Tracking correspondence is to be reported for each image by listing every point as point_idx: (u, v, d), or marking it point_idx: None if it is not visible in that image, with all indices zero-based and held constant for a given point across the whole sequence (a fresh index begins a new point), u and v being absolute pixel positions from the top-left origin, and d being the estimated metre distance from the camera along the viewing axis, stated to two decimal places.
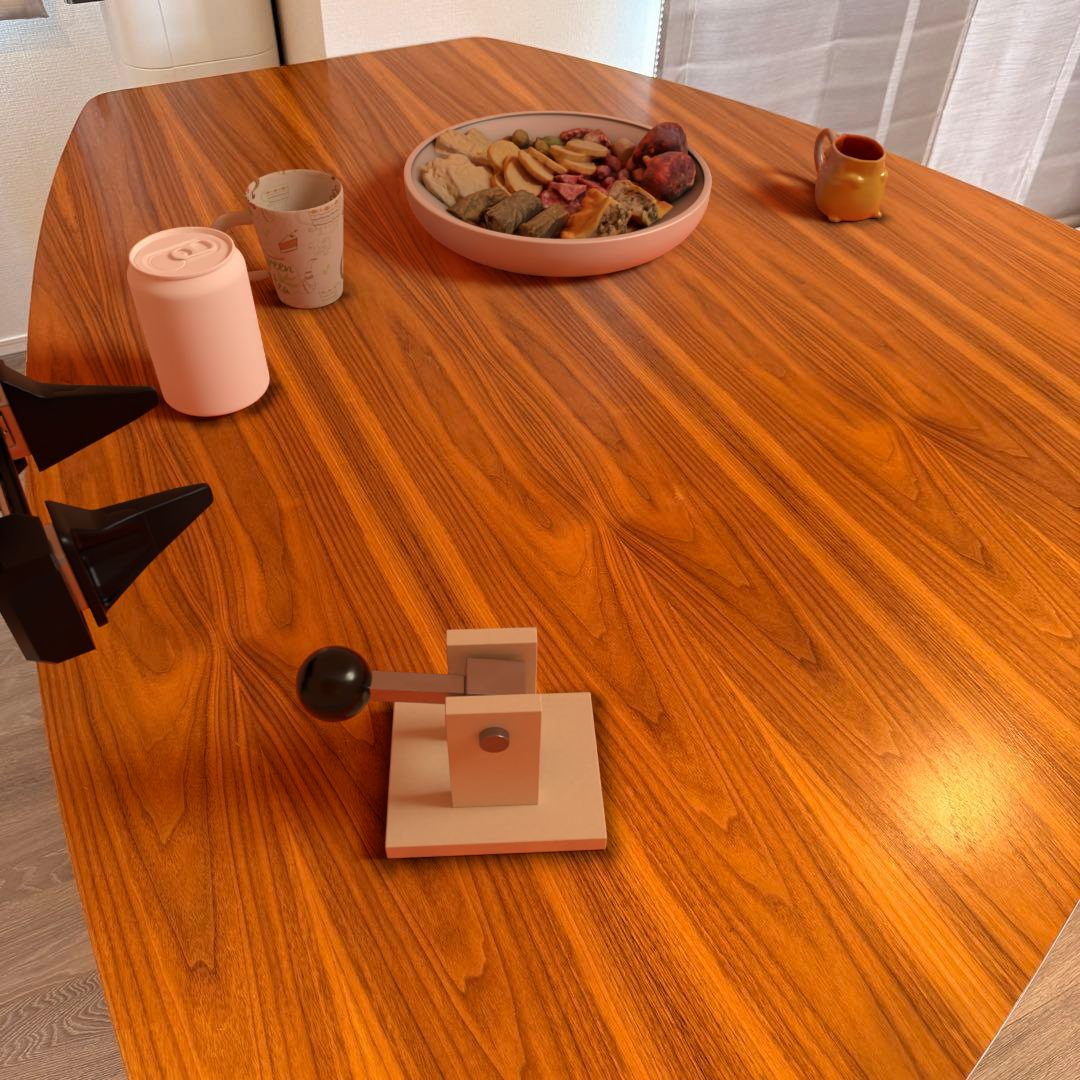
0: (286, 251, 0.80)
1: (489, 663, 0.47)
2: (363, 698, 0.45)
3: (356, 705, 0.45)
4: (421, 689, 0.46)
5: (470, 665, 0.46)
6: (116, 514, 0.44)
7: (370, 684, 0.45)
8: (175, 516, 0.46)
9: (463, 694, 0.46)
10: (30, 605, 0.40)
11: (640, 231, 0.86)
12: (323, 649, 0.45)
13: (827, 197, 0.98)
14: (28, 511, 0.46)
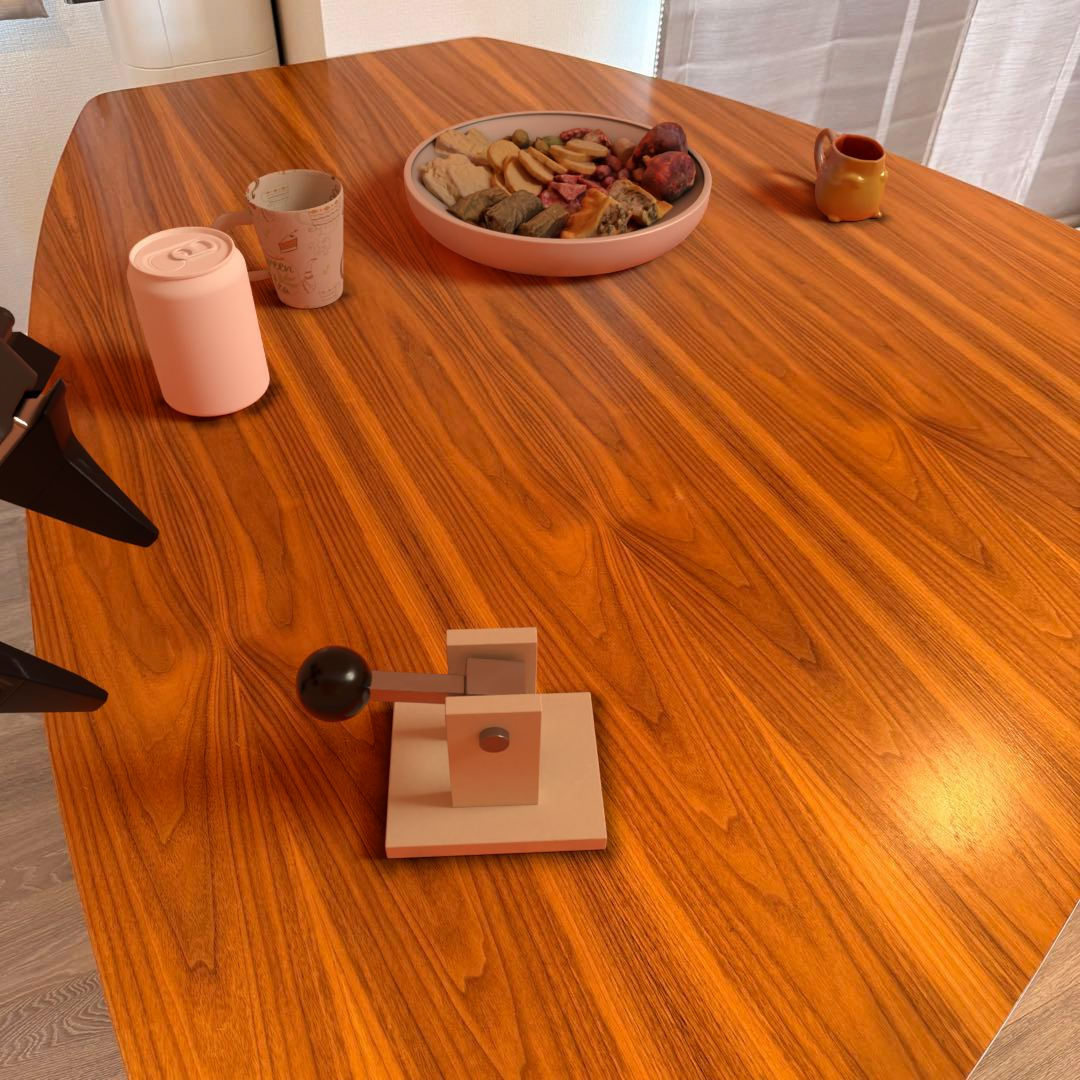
0: (286, 251, 0.80)
1: (489, 663, 0.47)
2: (363, 698, 0.45)
3: (356, 705, 0.45)
4: (421, 689, 0.46)
5: (470, 665, 0.46)
6: None
7: (370, 684, 0.45)
8: (46, 699, 0.37)
9: (463, 694, 0.46)
10: None
11: (640, 231, 0.86)
12: (323, 649, 0.45)
13: (827, 197, 0.98)
14: None
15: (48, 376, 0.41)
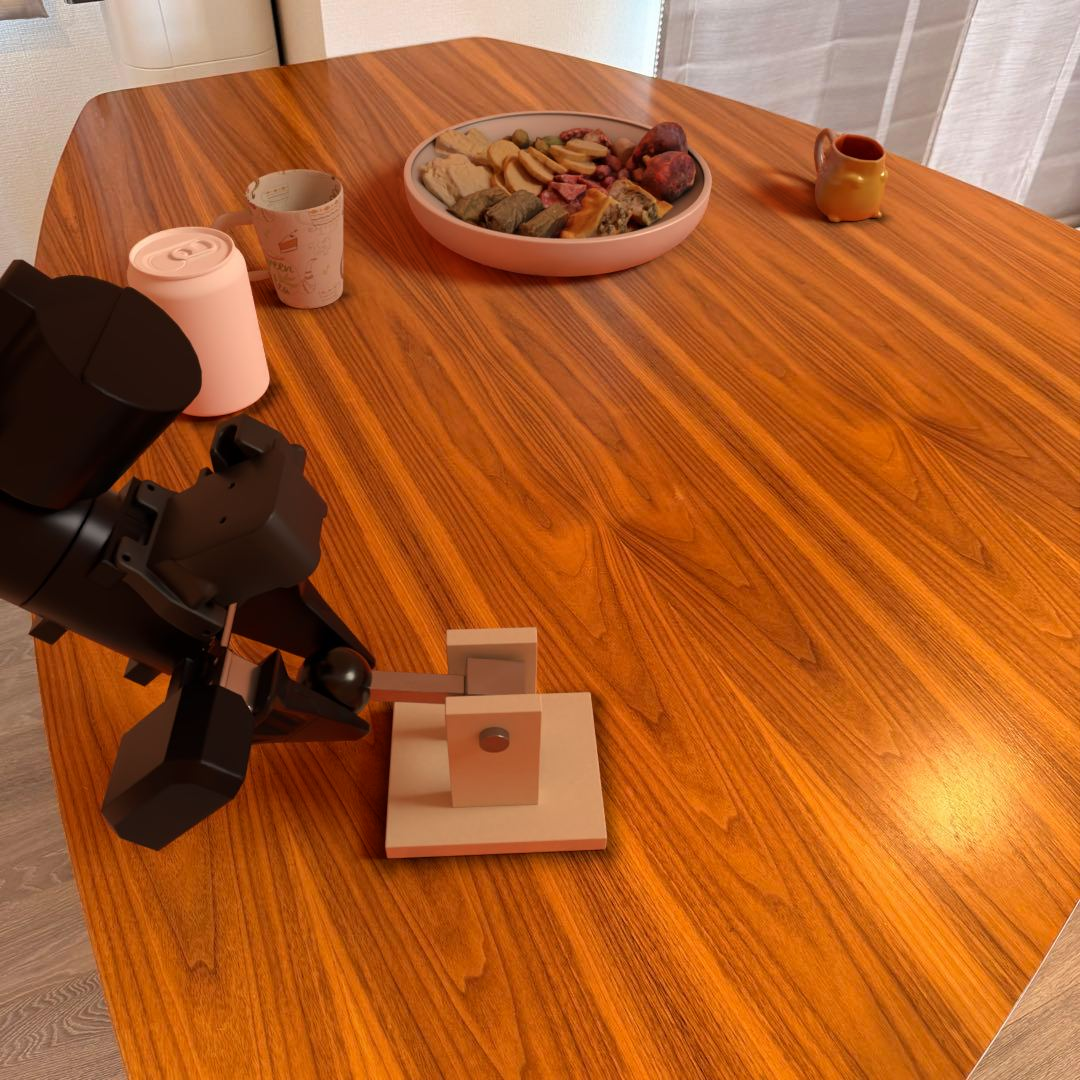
0: (286, 251, 0.80)
1: (489, 663, 0.47)
2: (363, 698, 0.45)
3: (356, 705, 0.45)
4: (421, 689, 0.46)
5: (470, 665, 0.46)
6: (301, 699, 0.42)
7: (370, 684, 0.45)
8: (327, 731, 0.44)
9: (463, 694, 0.46)
10: (176, 797, 0.35)
11: (640, 231, 0.86)
12: (323, 649, 0.45)
13: (827, 197, 0.98)
14: None
15: None
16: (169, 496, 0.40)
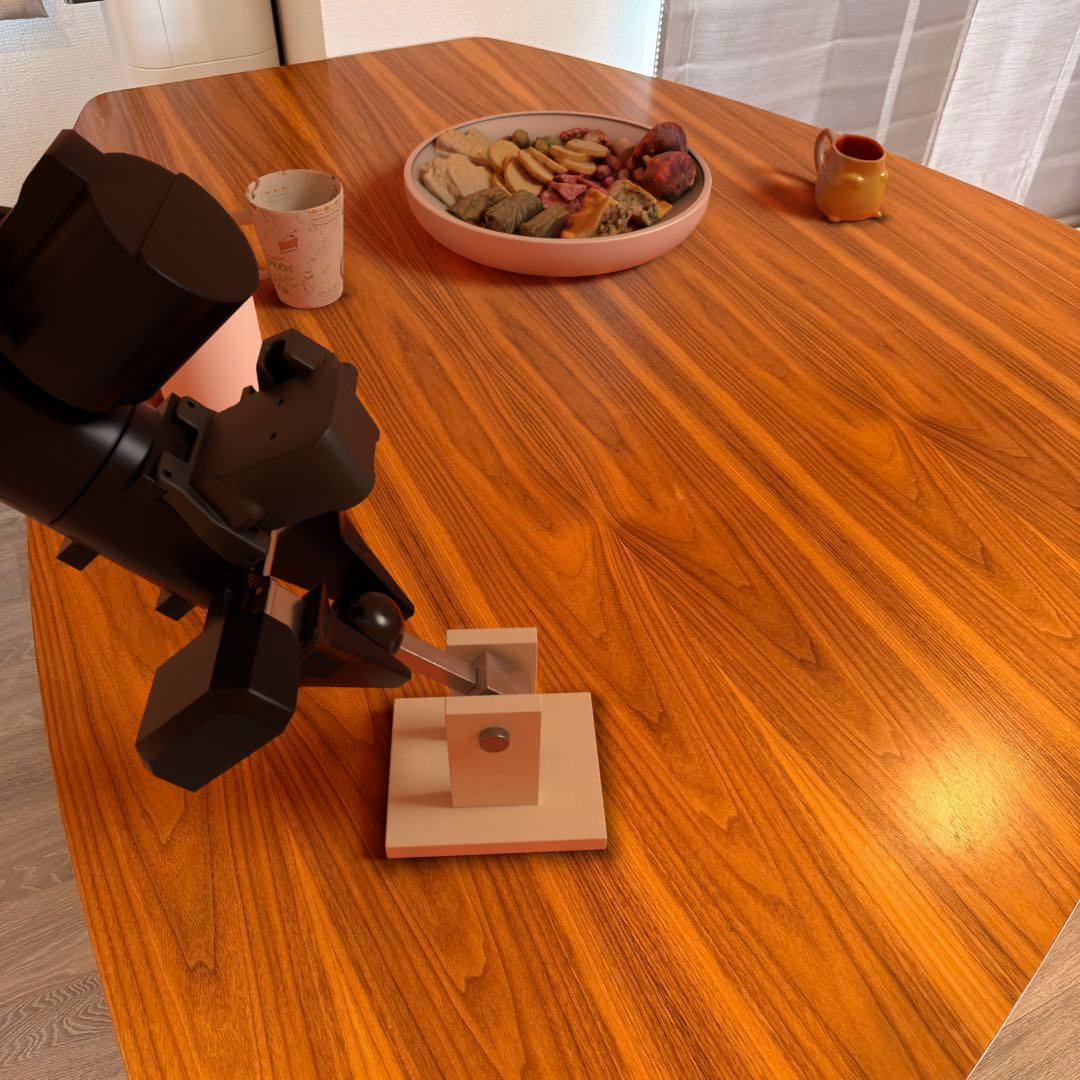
0: (286, 251, 0.80)
1: (503, 663, 0.47)
2: (393, 655, 0.43)
3: None
4: (442, 666, 0.45)
5: (489, 660, 0.46)
6: (344, 638, 0.39)
7: (401, 643, 0.43)
8: (367, 675, 0.41)
9: (474, 685, 0.46)
10: (221, 730, 0.32)
11: (640, 231, 0.86)
12: (373, 591, 0.43)
13: (827, 197, 0.98)
14: None
15: None
16: (210, 415, 0.37)
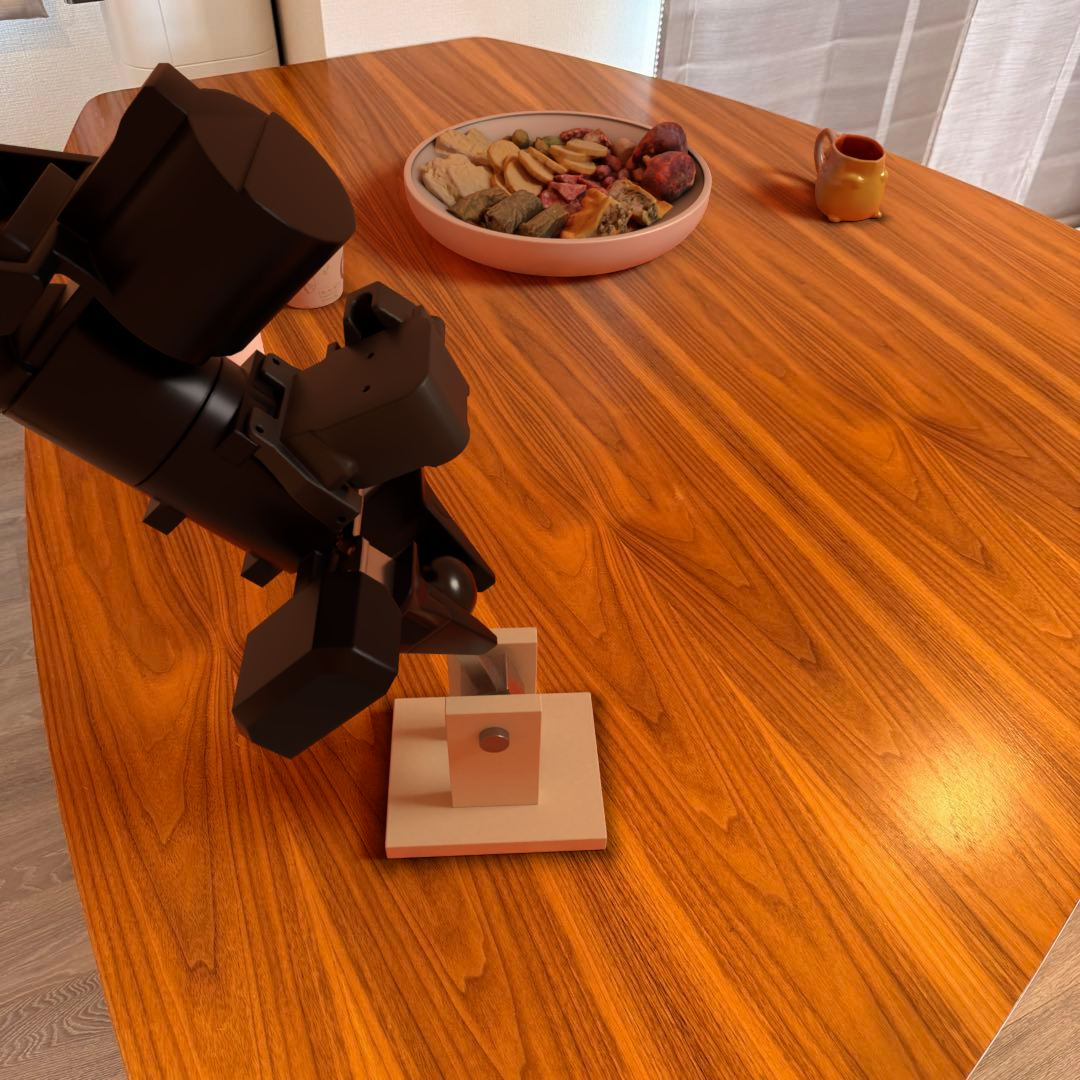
0: None
1: (513, 669, 0.47)
2: None
3: None
4: None
5: (507, 661, 0.46)
6: (434, 601, 0.38)
7: None
8: (454, 641, 0.40)
9: (490, 681, 0.45)
10: (323, 692, 0.31)
11: (640, 231, 0.86)
12: (462, 562, 0.42)
13: (827, 197, 0.98)
14: None
15: None
16: (294, 373, 0.36)
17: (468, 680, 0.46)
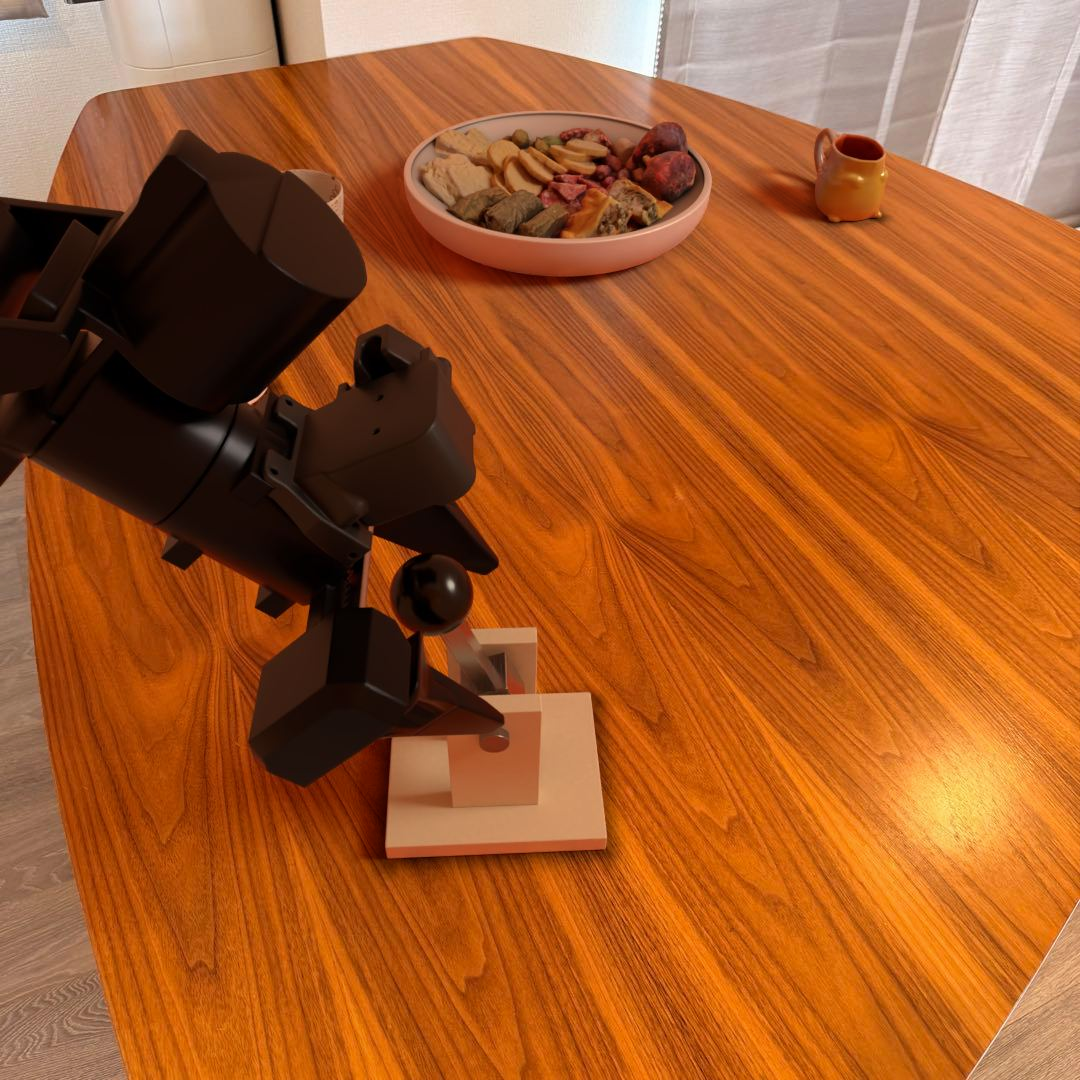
0: None
1: (513, 668, 0.47)
2: None
3: (447, 633, 0.41)
4: (476, 655, 0.44)
5: (506, 661, 0.46)
6: (440, 687, 0.37)
7: None
8: (461, 723, 0.39)
9: (490, 681, 0.45)
10: (336, 725, 0.32)
11: (640, 231, 0.86)
12: (458, 562, 0.42)
13: (827, 197, 0.98)
14: None
15: None
16: (306, 413, 0.37)
17: (467, 680, 0.46)
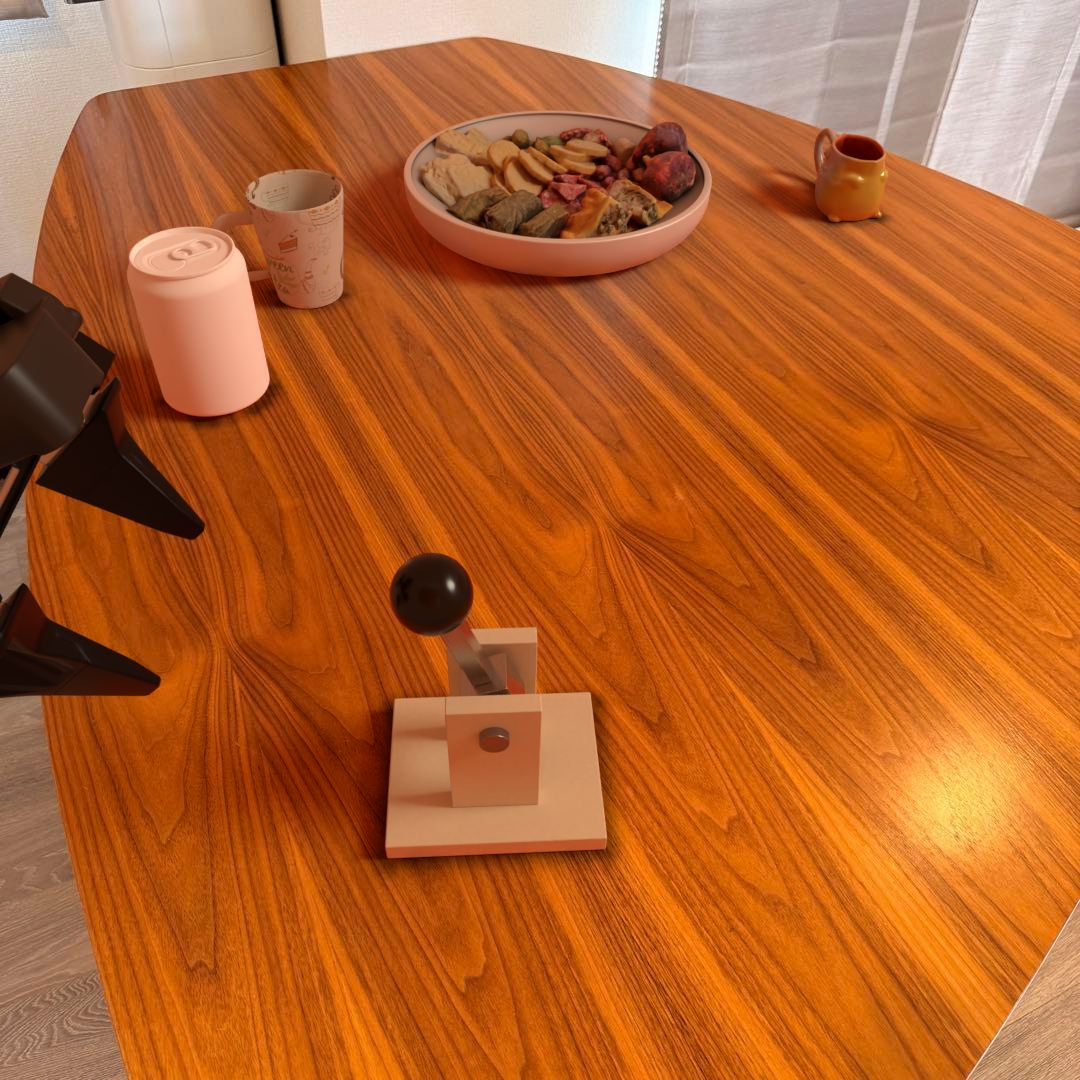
0: (286, 251, 0.80)
1: (513, 668, 0.47)
2: None
3: (447, 633, 0.41)
4: (476, 655, 0.44)
5: (506, 661, 0.46)
6: (63, 644, 0.37)
7: None
8: (104, 683, 0.39)
9: (490, 681, 0.45)
10: None
11: (640, 231, 0.86)
12: (458, 562, 0.42)
13: (827, 197, 0.98)
14: None
15: (105, 373, 0.43)
16: None
17: (467, 680, 0.46)
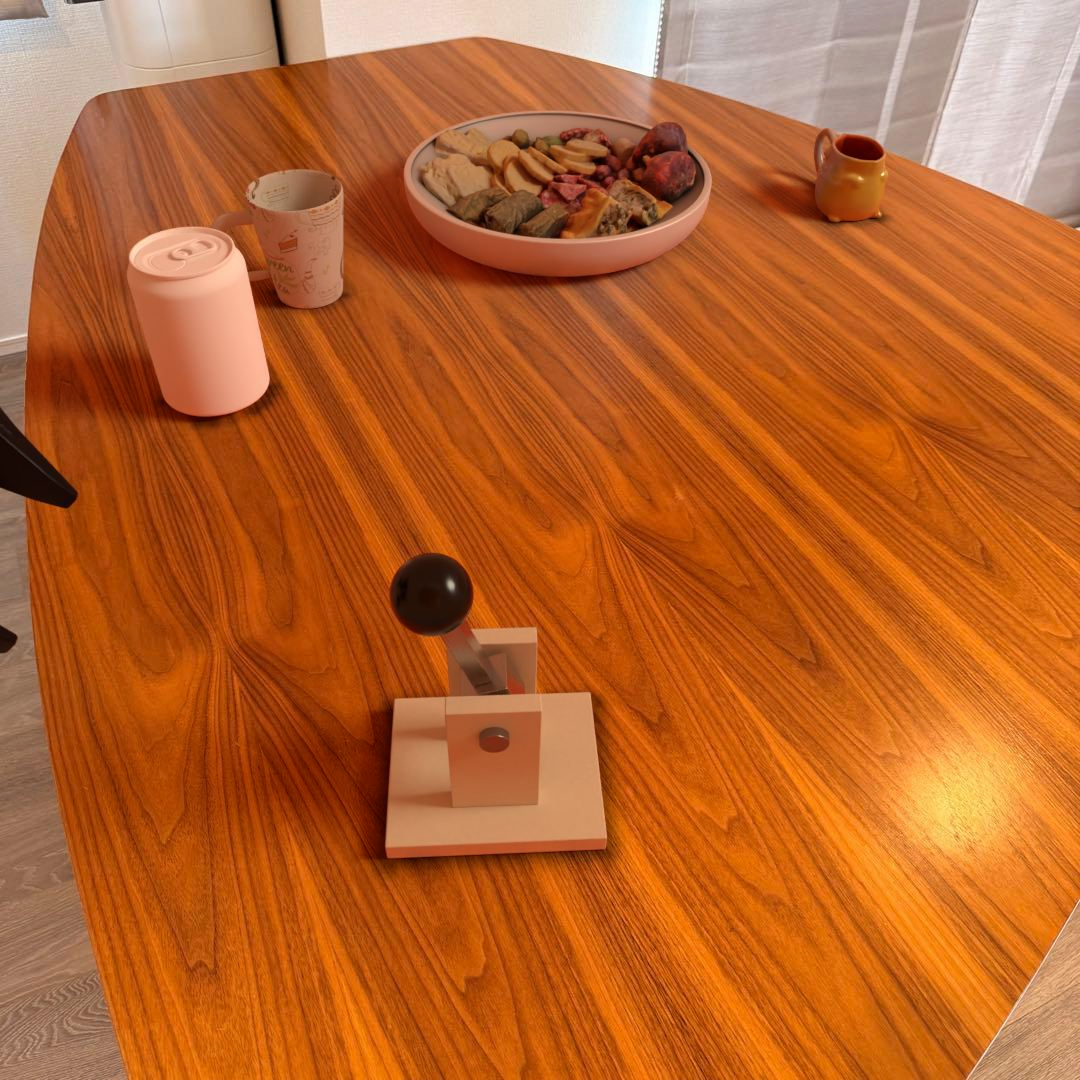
0: (286, 251, 0.80)
1: (513, 668, 0.47)
2: None
3: (447, 633, 0.41)
4: (476, 655, 0.44)
5: (506, 661, 0.46)
6: None
7: None
8: None
9: (490, 681, 0.45)
10: None
11: (640, 231, 0.86)
12: (458, 562, 0.42)
13: (827, 197, 0.98)
14: None
15: None
16: None
17: (467, 680, 0.46)
